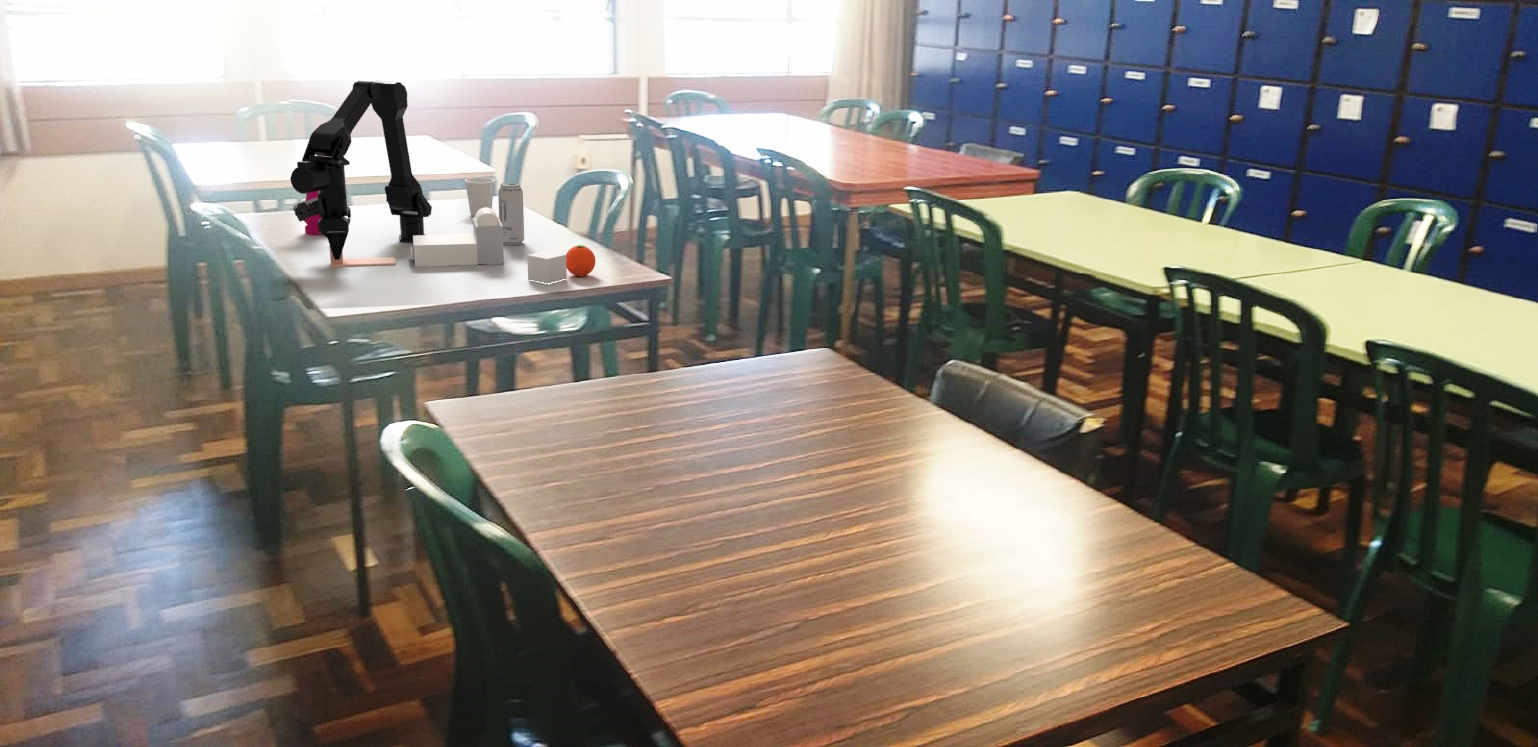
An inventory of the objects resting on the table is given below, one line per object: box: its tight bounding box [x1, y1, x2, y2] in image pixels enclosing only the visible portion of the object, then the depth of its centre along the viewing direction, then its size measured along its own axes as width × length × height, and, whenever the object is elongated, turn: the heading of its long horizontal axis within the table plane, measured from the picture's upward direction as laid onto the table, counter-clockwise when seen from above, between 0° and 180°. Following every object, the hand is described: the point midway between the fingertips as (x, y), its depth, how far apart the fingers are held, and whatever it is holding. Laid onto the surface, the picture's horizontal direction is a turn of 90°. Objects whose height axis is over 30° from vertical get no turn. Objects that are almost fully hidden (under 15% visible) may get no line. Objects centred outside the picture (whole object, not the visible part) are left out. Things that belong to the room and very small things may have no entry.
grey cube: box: [527, 250, 568, 283], centre depth 256 cm, size 6×6×6 cm
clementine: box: [565, 244, 596, 277], centre depth 262 cm, size 8×7×7 cm
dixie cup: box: [464, 176, 496, 218], centre depth 324 cm, size 8×8×10 cm
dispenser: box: [409, 207, 505, 268], centre depth 271 cm, size 11×21×12 cm, turn 107°
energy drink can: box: [497, 182, 525, 247], centre depth 290 cm, size 6×6×15 cm
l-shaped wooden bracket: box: [328, 245, 397, 268], centre depth 266 cm, size 6×14×5 cm, turn 108°
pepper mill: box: [302, 191, 323, 236], centre depth 292 cm, size 7×7×20 cm
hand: (337, 255), depth 264 cm, fingers open, 9 cm apart
